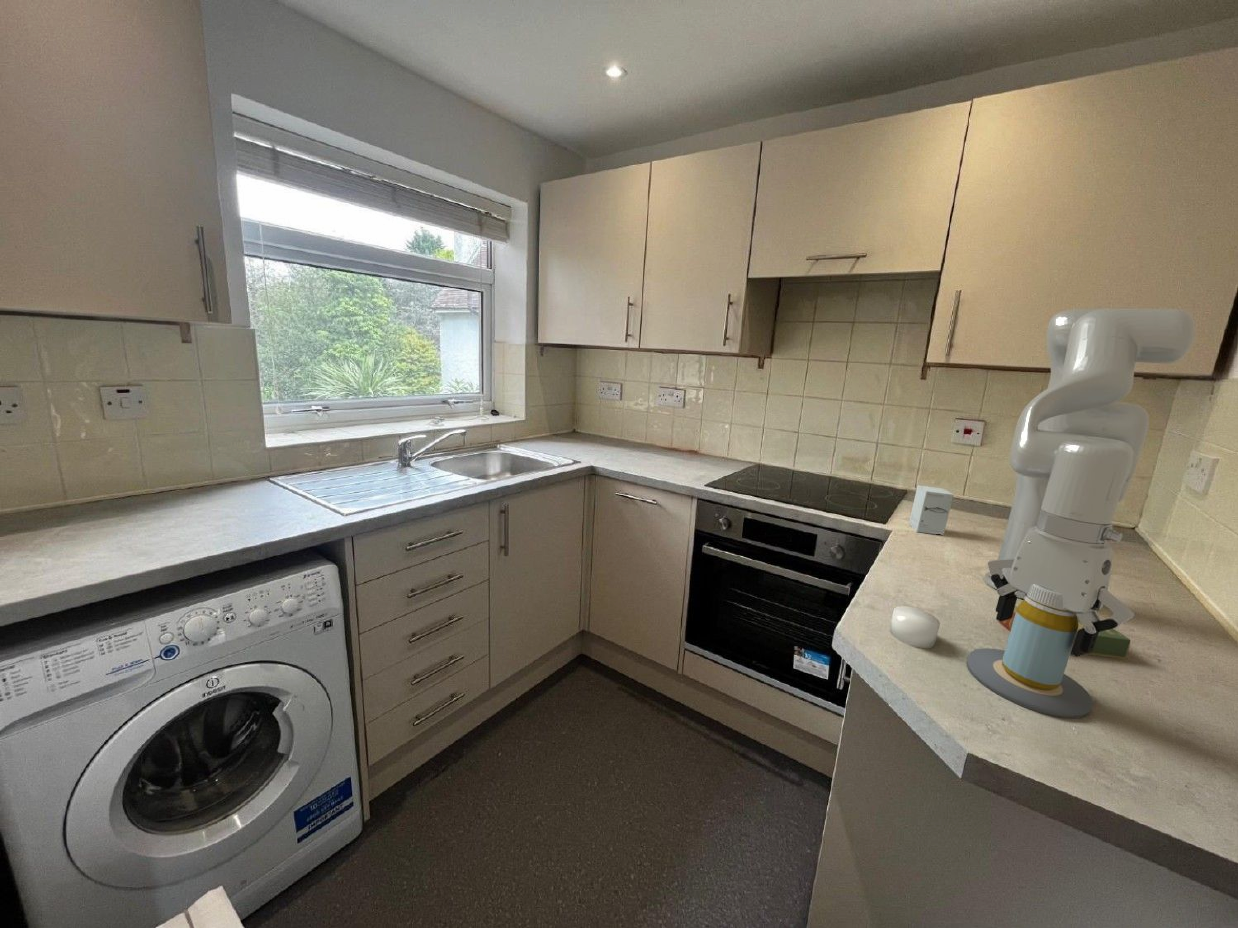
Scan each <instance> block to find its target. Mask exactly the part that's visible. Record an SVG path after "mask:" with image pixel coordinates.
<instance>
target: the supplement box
mask: <svg viewBox="0 0 1238 928" xmlns="http://www.w3.org/2000/svg"><path fill="white" fill-rule="evenodd" d="M953 498H954V494H953V493H952V492H950V491H949V490H947V489H945V488H941V487H932V486H927V485H919V484H918V485H917V487H916V491H915V495H914V500H913V504H912V509H911V511H910V512H911V514H910V517H909V522H908V525H909V526H910V525H911V526H912V527H911V526H910V527H911V528H912V529H913V530H914V531H915V530H916V531H917V532H916V531H915V532H916V533H923V534H925V533H926V534H930V535H936V534H941V535H943V536H944V535H945V531H946V527H947V522H948V518H949V514H950V509H951V506H952V502H953ZM941 535H940V536H941Z"/></svg>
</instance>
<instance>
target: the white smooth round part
mask: <svg viewBox="0 0 1238 928" xmlns="http://www.w3.org/2000/svg"><path fill="white" fill-rule="evenodd" d="M940 625H941V621H940V620H939V619H938V618H937V617H936V616H935V615H933V614H932V613H930V612H927V611H925V610H923V609H920V608H918V607H917V608H916V607H912V606H911V607H910V606H905V605H900V606H897V607H894V609H893V613H892V616H891V621H890V625H889V628H888V629H889V633H890V635H892V637H893V638H895V639H896V640H898V641H900V642H902V643H903V644H906V645H908V646H912V647H915V648H919V649H920V648H921V649H931V648H934V646H935V645H936V641H937V637H938V633H939V630H940Z"/></svg>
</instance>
